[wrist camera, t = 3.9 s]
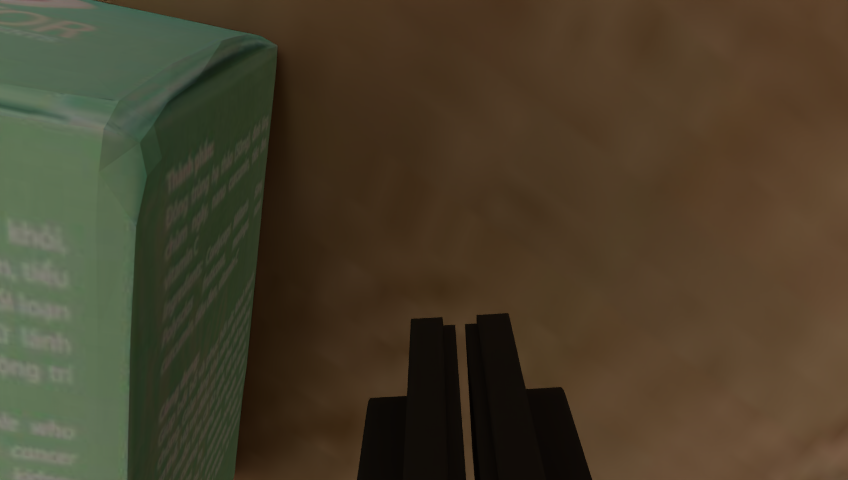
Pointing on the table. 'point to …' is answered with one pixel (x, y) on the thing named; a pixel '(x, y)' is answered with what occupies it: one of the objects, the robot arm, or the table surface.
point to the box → (126, 239)
